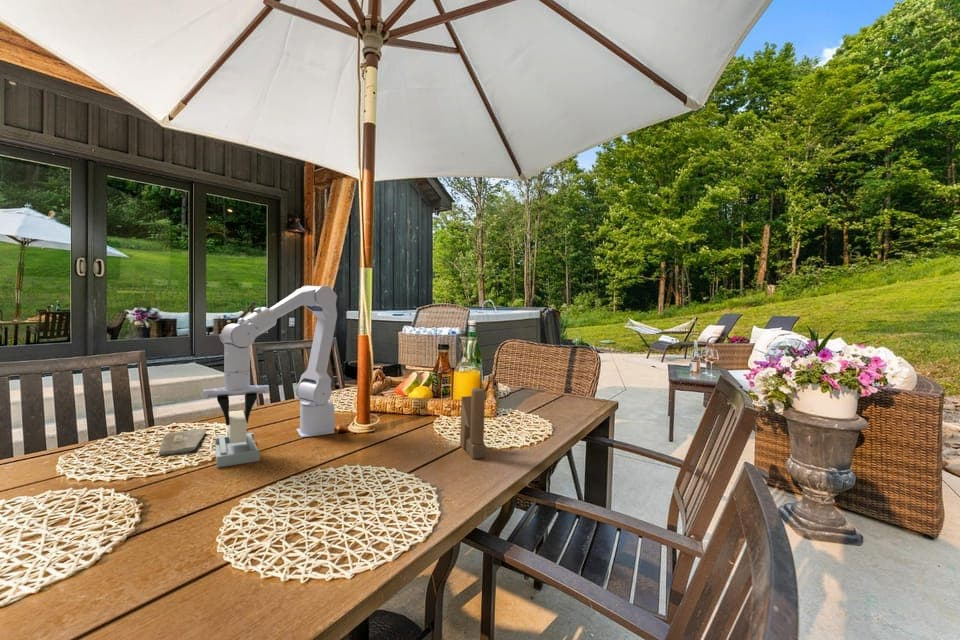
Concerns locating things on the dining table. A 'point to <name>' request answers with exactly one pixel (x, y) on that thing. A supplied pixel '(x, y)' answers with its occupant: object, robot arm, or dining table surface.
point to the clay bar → (237, 427)
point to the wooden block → (473, 423)
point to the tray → (236, 451)
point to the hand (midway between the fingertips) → (236, 423)
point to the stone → (181, 441)
